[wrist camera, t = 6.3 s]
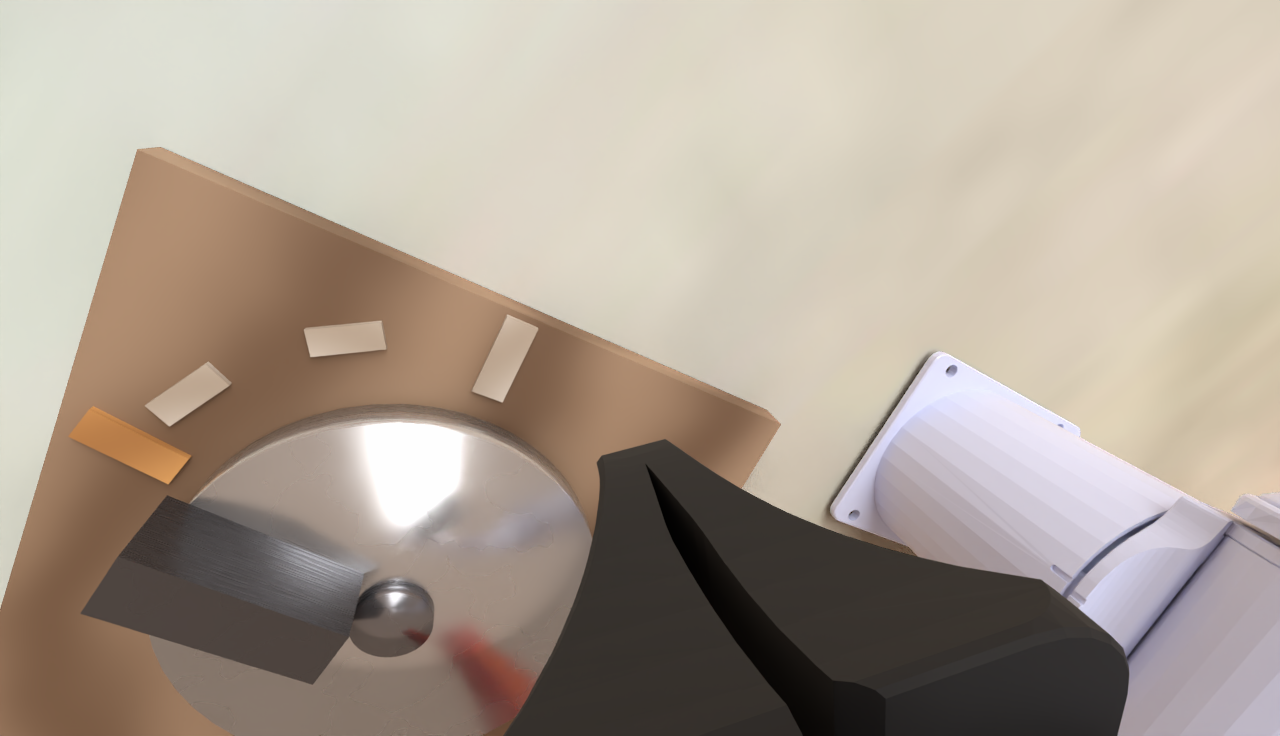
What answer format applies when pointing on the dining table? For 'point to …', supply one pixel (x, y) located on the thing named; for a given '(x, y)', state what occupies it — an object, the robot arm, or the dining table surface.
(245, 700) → the dial
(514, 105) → the dining table surface
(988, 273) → the dining table surface
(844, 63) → the dining table surface
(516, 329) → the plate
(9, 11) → the dining table surface
